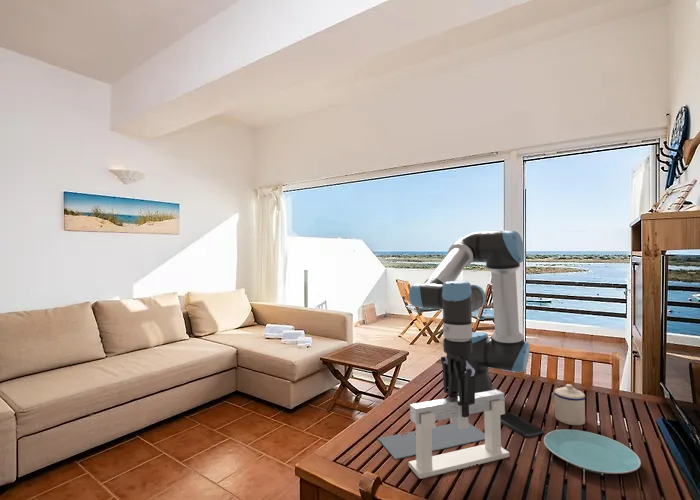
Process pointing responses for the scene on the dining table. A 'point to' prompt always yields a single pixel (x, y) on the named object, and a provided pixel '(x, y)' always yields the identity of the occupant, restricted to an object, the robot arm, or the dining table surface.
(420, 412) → the steel rail
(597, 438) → the plate
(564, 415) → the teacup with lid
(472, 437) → the slate mat
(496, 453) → the rail cradle stand
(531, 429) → the phone
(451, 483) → the dining table surface
